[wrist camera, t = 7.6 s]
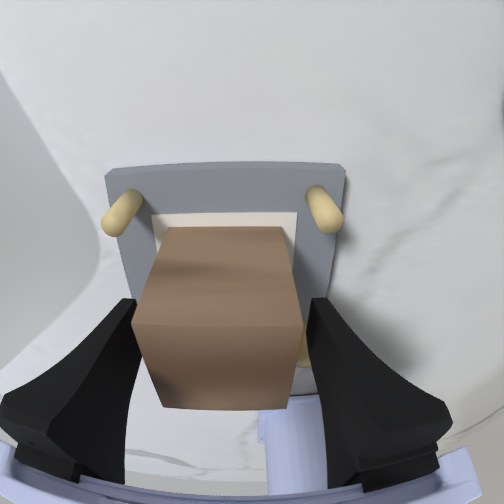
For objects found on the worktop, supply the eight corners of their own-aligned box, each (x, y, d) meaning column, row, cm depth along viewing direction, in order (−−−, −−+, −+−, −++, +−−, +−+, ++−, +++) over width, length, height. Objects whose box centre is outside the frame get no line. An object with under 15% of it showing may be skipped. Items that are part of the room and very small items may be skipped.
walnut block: (274, 310, 16) (286, 409, 11) (180, 310, 16) (163, 407, 11) (281, 226, 14) (303, 325, 9) (168, 227, 13) (131, 323, 8)
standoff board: (313, 329, 19) (324, 373, 16) (149, 329, 18) (137, 373, 16) (339, 163, 13) (366, 192, 10) (112, 168, 13) (79, 197, 10)
